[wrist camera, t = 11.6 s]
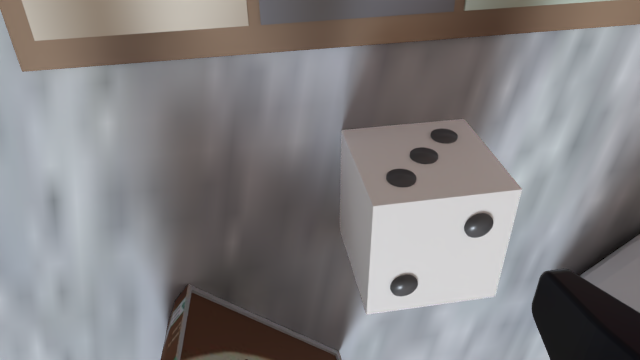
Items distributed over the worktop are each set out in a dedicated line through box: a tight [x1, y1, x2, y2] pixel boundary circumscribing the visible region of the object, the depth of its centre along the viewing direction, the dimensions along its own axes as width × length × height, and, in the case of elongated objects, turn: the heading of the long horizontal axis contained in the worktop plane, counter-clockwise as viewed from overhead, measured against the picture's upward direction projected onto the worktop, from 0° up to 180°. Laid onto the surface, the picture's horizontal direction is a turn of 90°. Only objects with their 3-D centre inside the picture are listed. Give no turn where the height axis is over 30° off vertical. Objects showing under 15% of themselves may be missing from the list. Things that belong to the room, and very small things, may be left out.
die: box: [340, 119, 522, 315], centre depth 21 cm, size 5×5×5 cm
